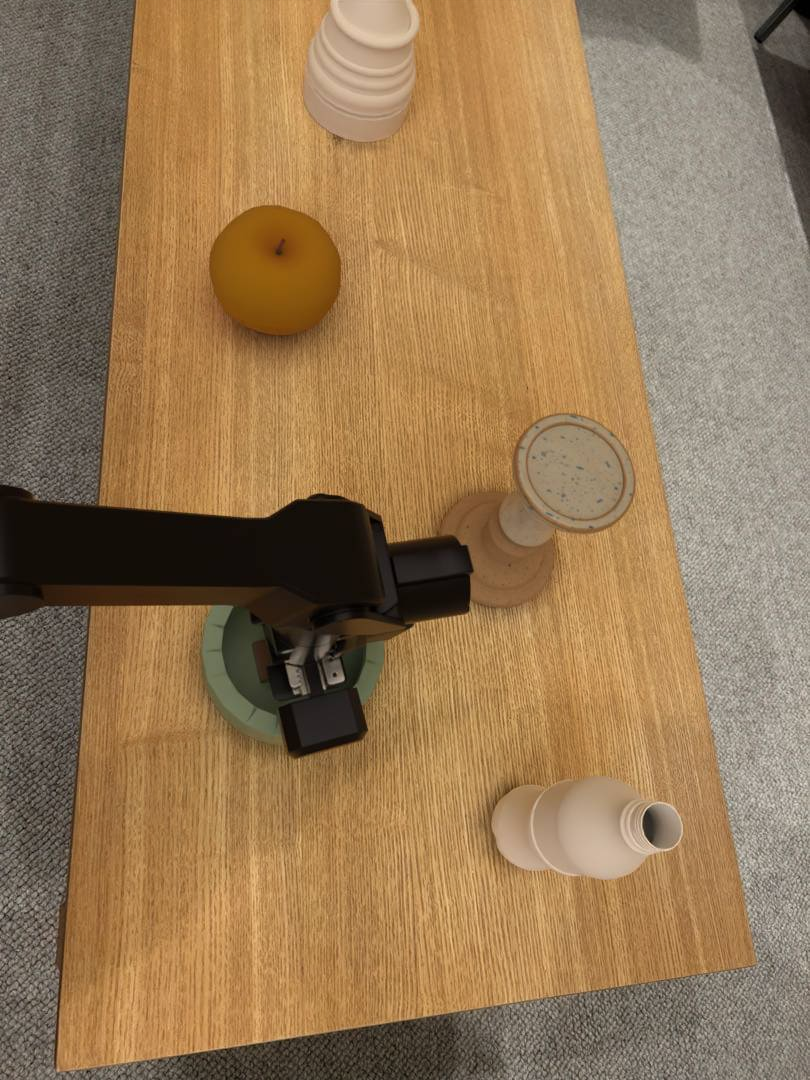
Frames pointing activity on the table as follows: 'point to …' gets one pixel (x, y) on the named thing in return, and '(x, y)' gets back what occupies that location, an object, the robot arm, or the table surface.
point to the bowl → (239, 682)
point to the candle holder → (542, 506)
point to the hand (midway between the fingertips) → (289, 652)
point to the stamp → (261, 659)
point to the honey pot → (362, 68)
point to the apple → (275, 270)
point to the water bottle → (583, 827)
